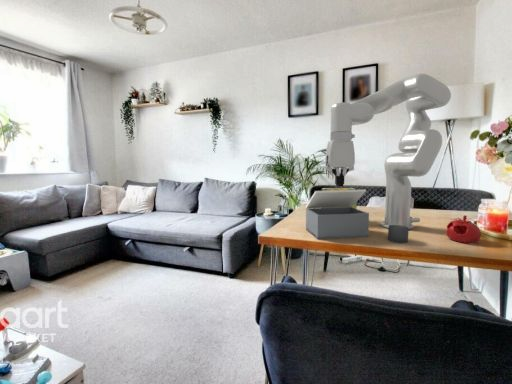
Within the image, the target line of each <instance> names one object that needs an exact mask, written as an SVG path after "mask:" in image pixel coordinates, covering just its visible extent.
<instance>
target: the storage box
mask: <svg viewBox="0 0 512 384" xmlns="http://www.w3.org/2000/svg"><path fill="white" fill-rule="evenodd" d="M369 220H370V213H369V212H366V211H363V210H360V209H358V208H356V209H355V208H353V207H339V208H305V229H306V232H308V233H309V234H311V235H312V236H313V237H314V238H315V239H316V240H327V239H328V240H331V239H332V240H333V239H345V238H367V237H369V222H370V221H369Z"/></svg>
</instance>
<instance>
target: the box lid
mask: <svg viewBox="0 0 512 384" xmlns="http://www.w3.org/2000/svg"><path fill="white" fill-rule="evenodd" d="M366 192H367V189H366V188H365V189H355V190H331V191H322V190H314V193H313V194H312V196H311V197H310V199H309V201H308V202H307V204H306V206H305V209H312V208H333V207H352V205H353V204H354V203H355V202H356V201H357V202H358V201H359V199H360V198H361V197H362V196H363V195H364V194H365V193H366Z"/></svg>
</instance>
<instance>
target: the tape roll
mask: <svg viewBox="0 0 512 384" xmlns="http://www.w3.org/2000/svg"><path fill="white" fill-rule="evenodd" d="M387 229H388V233H387V240H388V241H389V242H392V243H397V244H406V243H409V230H410V229H409V228H408V227H406V226H402V225H389V228H387Z"/></svg>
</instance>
